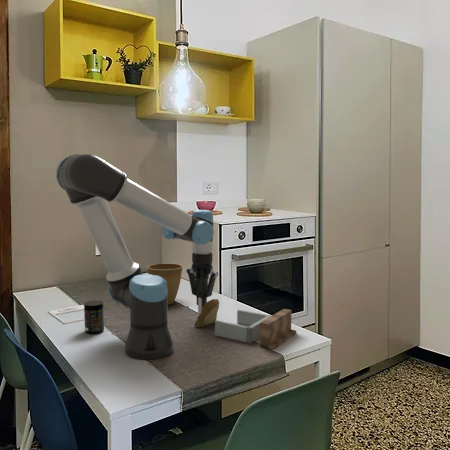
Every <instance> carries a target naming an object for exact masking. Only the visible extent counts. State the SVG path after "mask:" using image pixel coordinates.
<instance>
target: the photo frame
mask: <svg viewBox="0 0 450 450" xmlns="http://www.w3.org/2000/svg"><path fill="white" fill-rule="evenodd" d="M81 311H84V304H81V305H80V304H79V305H76V306H75V305H74V306H70V307H65V308H60V309H55V310H48V311H47V313H48V314H49V315H51V317H54V318H55V319H56V320H58V321H59V322H61V323H62V324H63V325H67V324H72V323H77V322H82V321H84V318H79V319H74V320H70V321H65V320H63V319H62V318H60V317H59V315H64V314H70V313H76V312H81Z"/></svg>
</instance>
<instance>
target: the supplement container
mask: <svg viewBox="0 0 450 450" xmlns="http://www.w3.org/2000/svg"><path fill="white" fill-rule="evenodd" d="M83 305H84V310H83V312H84V315H83V316H84V317H83V319H84V320H83V321H84V332H85V333H86V334H87V335H99V334H101V333H103V332H104V331H105V311H104V310H105V308H104V307H105V304H104V301H102V300H97V299H95V300H88V301H85V302H84V303H83Z"/></svg>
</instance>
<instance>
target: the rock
mask: <svg viewBox="0 0 450 450" xmlns="http://www.w3.org/2000/svg"><path fill="white" fill-rule="evenodd" d="M219 309H220V301H219V299H218V298H215V299H214V298H213V299H210V300H207V303H205V304H204V308H203V310H202V312H201V314H200V315H197V319H196V321H195V322H194V326H195V327H196V328H198V329H199V328H202V327H205V326H208V325H211V324H215V321H217V318H218V317H217V316H218V312H219Z"/></svg>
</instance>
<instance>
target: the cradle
mask: <svg viewBox="0 0 450 450" xmlns="http://www.w3.org/2000/svg"><path fill="white" fill-rule="evenodd" d="M236 312H237V313H236V316H237V317H236V323H237V324H236V323H231V322H227V321H222V320H217V319H216V321H215V322H214V336H217V337H221V338H225V339H229V340H235V341H239V342H242V343H243V342H244V343H249V344H252V343H253V342H255V341H256V340H258V339H260V323H261V322H262V321H264V320H266V319H267V318H269V317H271V316H272V315H270V314H266V313H260V312H254V311H249V310H243V309H237V311H236Z"/></svg>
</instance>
